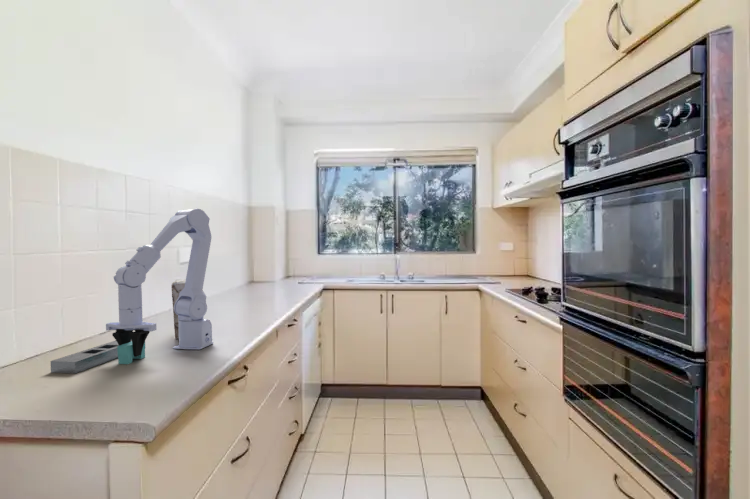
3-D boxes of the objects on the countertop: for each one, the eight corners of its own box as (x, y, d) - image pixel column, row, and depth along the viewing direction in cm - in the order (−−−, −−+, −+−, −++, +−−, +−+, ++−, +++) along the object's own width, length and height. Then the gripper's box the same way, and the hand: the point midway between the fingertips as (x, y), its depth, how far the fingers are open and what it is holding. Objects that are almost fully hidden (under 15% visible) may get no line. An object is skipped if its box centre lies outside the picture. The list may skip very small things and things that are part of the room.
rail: (142, 348, 128) (142, 339, 128) (75, 373, 104) (75, 362, 104) (121, 347, 129) (121, 338, 129) (50, 372, 105) (50, 361, 105)
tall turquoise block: (136, 356, 119) (135, 339, 118) (145, 357, 118) (145, 340, 118) (117, 364, 112) (117, 346, 112) (127, 364, 111) (127, 346, 111)
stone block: (195, 338, 141) (193, 281, 140) (172, 340, 138) (171, 282, 137) (194, 330, 153) (193, 278, 152) (174, 332, 150) (172, 279, 149)
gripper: (96, 310, 112) (97, 358, 112) (143, 311, 109) (144, 360, 110) (116, 306, 119) (117, 351, 119) (160, 306, 116) (162, 353, 117)
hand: (131, 355), depth 115 cm, fingers closed on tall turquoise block, 3 cm apart
